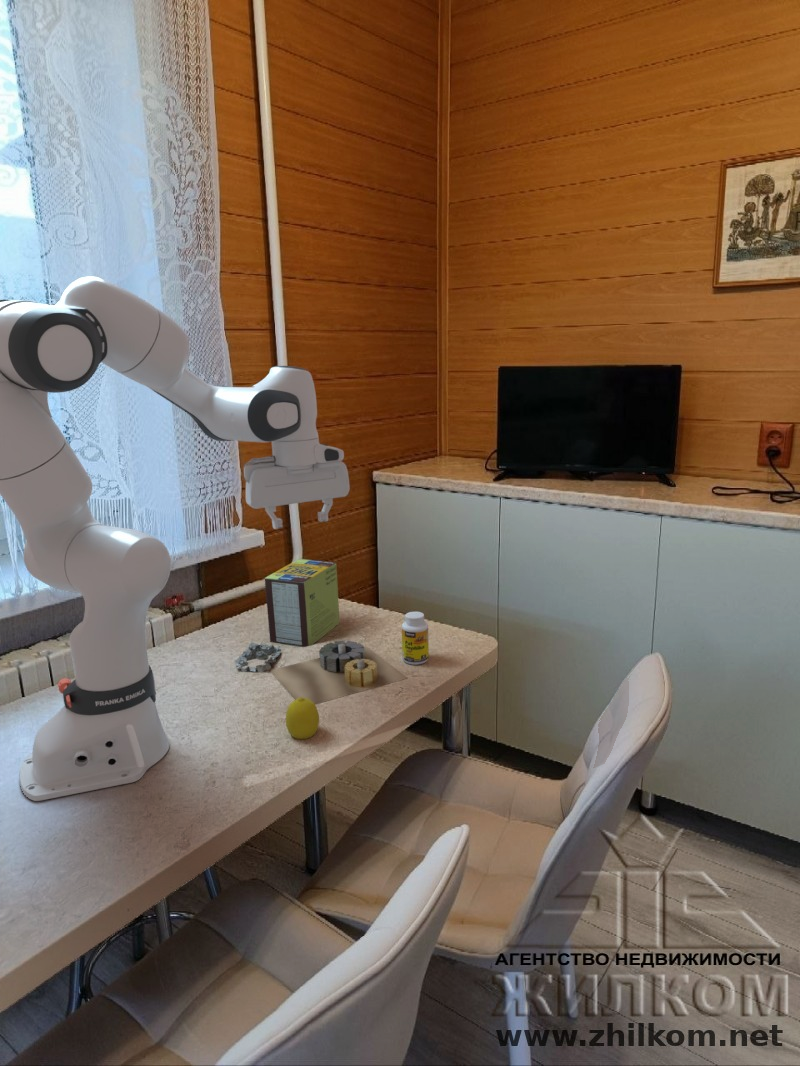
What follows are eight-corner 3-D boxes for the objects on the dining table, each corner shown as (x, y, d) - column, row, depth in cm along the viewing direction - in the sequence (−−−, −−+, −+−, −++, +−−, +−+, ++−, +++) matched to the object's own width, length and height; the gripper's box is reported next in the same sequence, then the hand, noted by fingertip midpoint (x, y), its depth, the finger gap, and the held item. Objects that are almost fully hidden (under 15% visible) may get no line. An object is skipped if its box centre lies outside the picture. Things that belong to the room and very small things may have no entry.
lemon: (314, 750, 116) (311, 707, 113) (282, 748, 117) (279, 704, 115) (324, 733, 121) (322, 691, 119) (294, 730, 122) (291, 688, 120)
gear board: (302, 715, 127) (301, 687, 125) (269, 677, 142) (267, 652, 141) (408, 684, 137) (407, 659, 136) (366, 652, 152) (365, 628, 151)
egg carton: (268, 681, 141) (266, 662, 140) (232, 679, 142) (231, 660, 141) (285, 658, 151) (284, 640, 150) (252, 656, 153) (250, 639, 151)
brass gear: (354, 689, 133) (353, 675, 132) (340, 677, 138) (340, 663, 137) (382, 681, 135) (381, 667, 135) (368, 670, 141) (367, 656, 140)
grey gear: (331, 676, 138) (330, 663, 137) (313, 659, 146) (312, 646, 145) (372, 665, 142) (371, 652, 141) (352, 649, 150) (352, 637, 149)
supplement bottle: (401, 665, 146) (400, 619, 143) (403, 654, 151) (402, 609, 148) (428, 666, 145) (427, 619, 143) (429, 654, 150) (428, 609, 148)
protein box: (340, 623, 169) (337, 561, 165) (308, 648, 156) (304, 582, 152) (302, 618, 173) (298, 558, 169) (268, 642, 159) (263, 577, 156)
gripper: (247, 461, 125) (254, 536, 129) (351, 450, 135) (354, 520, 138) (237, 457, 130) (243, 529, 134) (337, 447, 140) (341, 514, 144)
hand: (300, 524), depth 136 cm, fingers open, 8 cm apart
